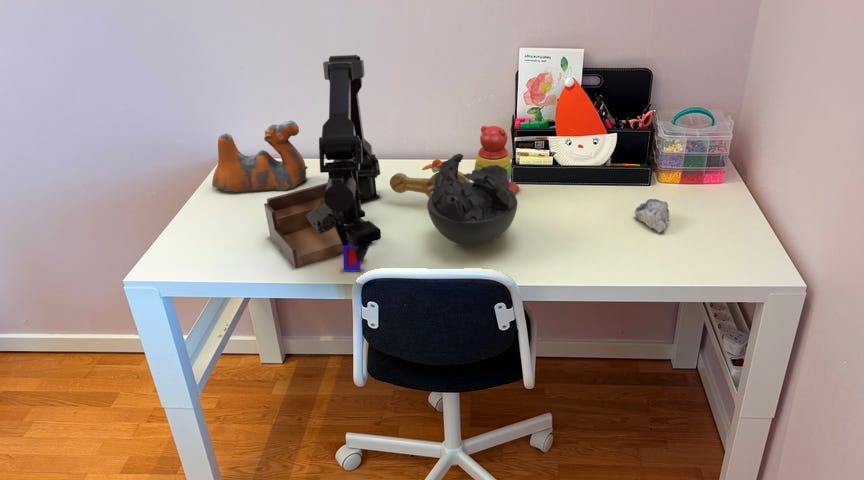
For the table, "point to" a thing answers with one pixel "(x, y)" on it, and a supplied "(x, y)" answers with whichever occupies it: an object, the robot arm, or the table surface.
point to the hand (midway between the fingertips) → (353, 254)
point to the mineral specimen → (653, 214)
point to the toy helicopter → (420, 180)
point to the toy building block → (350, 259)
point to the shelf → (300, 227)
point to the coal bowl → (472, 204)
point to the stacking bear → (495, 152)
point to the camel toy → (260, 163)
